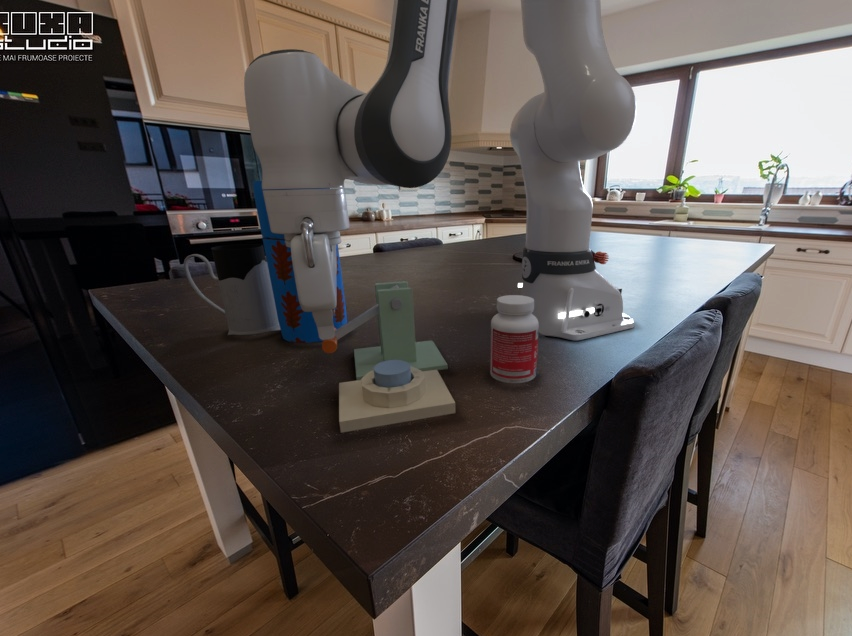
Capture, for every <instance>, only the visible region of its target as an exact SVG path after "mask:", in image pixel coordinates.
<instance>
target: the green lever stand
mask: <svg viewBox="0 0 852 636" xmlns="http://www.w3.org/2000/svg"><path fill="white" fill-rule="evenodd" d="M395 285H397V286H398V287H399V288H393V289H390V288H392V287H394V286H395ZM374 292H375V302H376V304H378V306H379V314H378V315H377V323H378V333H379V335H378V336H379V343H380V344H379V345H377V346H370V347H362V348H361V347H360V348H353V355H354V356H353V358H354V367H355V368H354V369H355V379H356V381H357V380H361V379H362V378H363V377H364V376H365V375H366V374H367V373H368V372H370V371H373V370H374V367H375V366H376V365H377V364H379V363H381V362H384V361H388V360H403V361H406V362H408V363H409V364H410V366H412V367H414V368H417V369H419V370H421V371H422V372H423V371H430V370H438V371H443V370H448V367H449V366H448V363H447V362H446V360H445V359H444V357H443V355H442V353H441V352H440V350H439V349H438V347H437V345H436V344H435V342H434V341H433V340H424V341H423V340H422V341H416V329H415V328H416V327H415V326H416V325H415V313H414V312H415V311H414V296H413V295H414V294H413V288H412V287H411V286H408V281H407V280H404V281H403V280H402V281H401V280H400V281H387V282H375V283H374ZM376 304H375V305H376Z"/></svg>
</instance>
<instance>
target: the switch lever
mask: <svg viewBox="0 0 852 636" xmlns="http://www.w3.org/2000/svg"><path fill="white" fill-rule="evenodd" d="M393 288H399V287H398V286H397V285H395V286H394V287H392V288H390V289H393ZM378 314H379V306H378V304H375V305H373V306H371V307H370V308H369V309H367V310H365V311H364V312H362V313H361V314H359V315H357V316H356V317H354V318H352V319H351V320H349V321H347V323H346V324H345V325H343V326H341V327H340V328H338V329H336V328H335V327H334V330H335V337H334V338H333V339H327V340H323V341H321V342H322V343H321V349H322V351H323V352H324V353H326V354H333V353H335V352H336V351H337V349H338V340H340V339H341V338H342V337H345V336H346V335H348V334H350V333H351V332H352V331H354V330H356V329H357V328H360V327H361V326H362V325H364V324H366V323H367V322H368V321H370V320H371V319H373V318H374V317H376V316H378Z"/></svg>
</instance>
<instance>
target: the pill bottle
mask: <svg viewBox="0 0 852 636" xmlns="http://www.w3.org/2000/svg"><path fill="white" fill-rule="evenodd" d="M495 307H496V311H497V313H496V314H494V316H493V317H492V318H491V320H490V350H489V351H490V355H489V356H490V357H489V358H490V359H489V374H490V376H491V377H492V378H493V379H495V380H496V381H498V382H502V383H507V384H522V383H528V382H530V381H532V380H534V379H535V378H536V377H537V366H538V365H537V364H538V350H539V332H538V331H539V322H538V320H537V318H536V317H535V316H534V315H532V312H533V310H534V299H533V298H531V297H527V296H521V294H520V295H519V294H508V295H502V296H499V297H497V299H496V306H495Z"/></svg>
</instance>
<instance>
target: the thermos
mask: <svg viewBox="0 0 852 636" xmlns="http://www.w3.org/2000/svg"><path fill="white" fill-rule="evenodd" d="M252 184H253V197H254V202H255V208H256V213H257V217H258V222H259V227H260V233H261V238H262V243H263V244H262V245H263V249H264V254H265V259H266V262H267V264H268V269H269V275H270V280H271V285H272V290H273V295H274V301H275V306H276V311H277V316H278V321H279V325H280V329H281V330H280V333H281V337H282V339H283V340H285V341H287V342H291V343H296V344H297V343H300V344H301V343H302V344H303V343H304V344H306V343H307V344H309V343H316V342H317V343H318V342H322V341H323V340H321V339H320V338H319V335H318V329H317V326H316V323H315V320H314V318H313V315H312V312H304V311H303V310H302V308H301V306H300V303H299V299H298V293H297V288H296V282H295V276H294V270H293V264H292V257H291V248H289V247H287V246H286V244H285V239H284V234H275V233H272V232H271V229H270V224H269V219H268V214H267V210H266V205H265V200H264V195H263V190H262V180H253V181H252ZM323 189H331V188H323ZM276 190H299V189H276ZM336 257H337V273H336V280H337V305H336V307H335V315H334V316H333V324H334V327H335V328H336V329H338V328H340V327H341V326H343V325H345V324H346V323H348V317H347V316H348V315H347V308H346V298H345V290H344V282H343V274H342V273H343V272H342V266H341V257H340V251H339V244H337V245H336Z"/></svg>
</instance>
